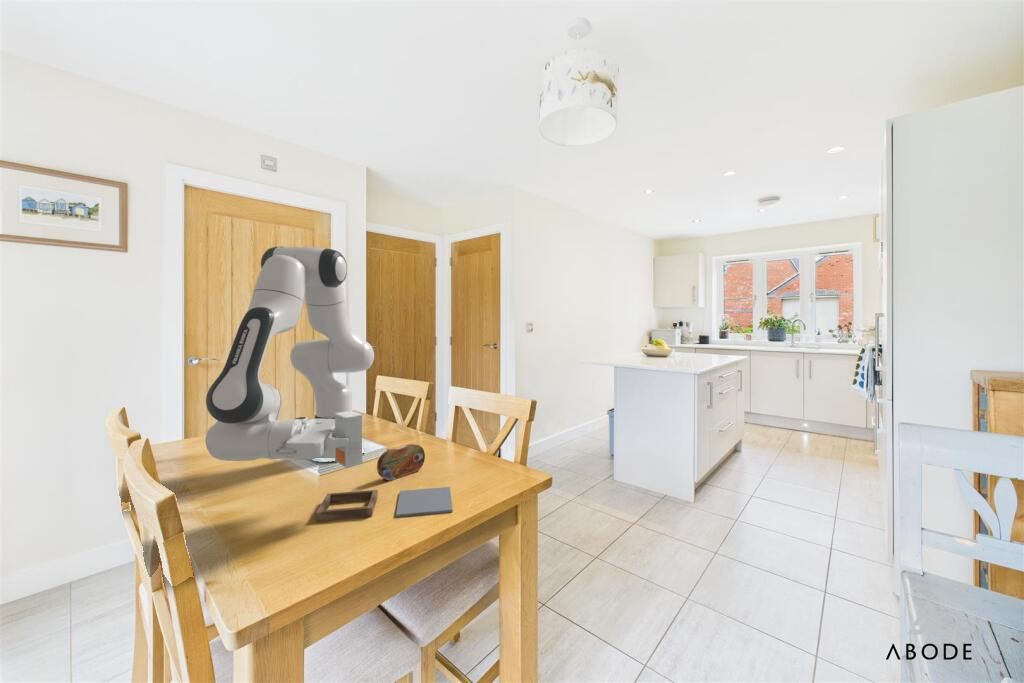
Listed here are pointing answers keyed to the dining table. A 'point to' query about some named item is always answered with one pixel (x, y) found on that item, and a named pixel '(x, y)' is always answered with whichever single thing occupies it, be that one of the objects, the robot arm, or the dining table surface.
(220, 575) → the dining table surface
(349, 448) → the skincare box
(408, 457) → the tin
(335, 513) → the walnut collar
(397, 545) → the dining table surface
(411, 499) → the slate mat
